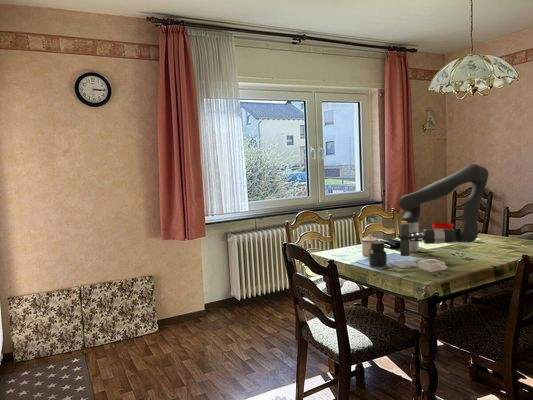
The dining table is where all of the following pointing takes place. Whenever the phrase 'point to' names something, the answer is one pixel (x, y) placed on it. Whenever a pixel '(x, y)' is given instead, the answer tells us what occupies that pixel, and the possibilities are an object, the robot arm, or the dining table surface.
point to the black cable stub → (404, 243)
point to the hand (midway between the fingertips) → (399, 237)
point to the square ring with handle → (431, 265)
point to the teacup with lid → (367, 244)
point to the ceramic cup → (442, 226)
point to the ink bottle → (377, 254)
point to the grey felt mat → (404, 264)
